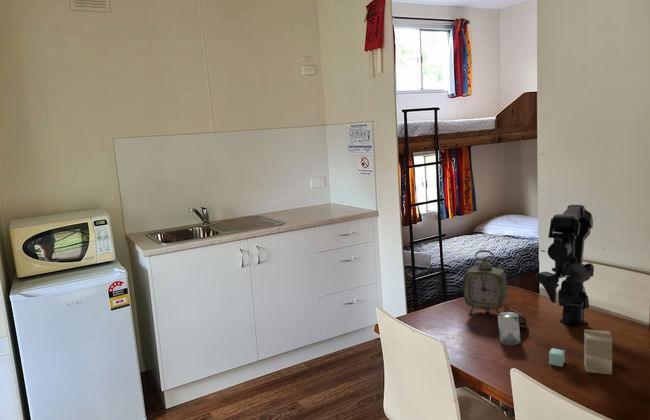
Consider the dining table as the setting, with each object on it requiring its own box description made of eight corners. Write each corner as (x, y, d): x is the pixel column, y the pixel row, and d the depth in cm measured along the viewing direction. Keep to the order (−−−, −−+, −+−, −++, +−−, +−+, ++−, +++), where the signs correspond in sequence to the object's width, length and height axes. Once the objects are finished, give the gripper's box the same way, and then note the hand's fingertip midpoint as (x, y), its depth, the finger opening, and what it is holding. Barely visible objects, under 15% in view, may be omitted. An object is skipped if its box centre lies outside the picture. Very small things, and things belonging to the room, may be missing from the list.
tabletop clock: (464, 315, 189) (461, 251, 185) (470, 307, 196) (468, 246, 192) (503, 320, 181) (501, 254, 177) (508, 311, 189) (507, 248, 185)
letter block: (551, 359, 150) (551, 348, 149) (564, 361, 147) (564, 350, 147) (549, 364, 147) (549, 352, 146) (562, 366, 145) (562, 355, 144)
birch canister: (584, 363, 146) (584, 329, 144) (608, 365, 143) (609, 331, 142) (586, 372, 140) (586, 337, 139) (611, 374, 138) (612, 339, 136)
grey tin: (513, 335, 167) (511, 310, 165) (524, 343, 161) (522, 317, 159) (496, 339, 166) (494, 314, 165) (506, 347, 160) (503, 320, 158)
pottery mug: (535, 334, 168) (525, 318, 165) (509, 346, 170) (499, 330, 167) (521, 313, 179) (512, 297, 176) (497, 325, 181) (488, 309, 178)
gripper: (561, 263, 148) (561, 313, 151) (608, 254, 154) (607, 302, 157) (534, 255, 159) (534, 302, 161) (579, 247, 165) (579, 292, 167)
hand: (564, 300), depth 161 cm, fingers open, 9 cm apart
